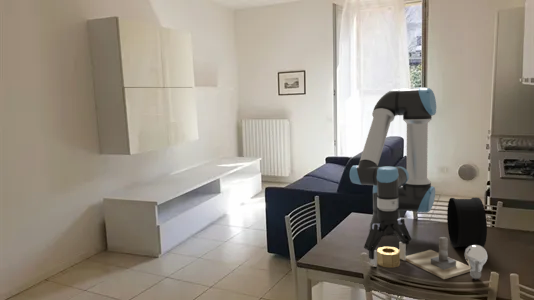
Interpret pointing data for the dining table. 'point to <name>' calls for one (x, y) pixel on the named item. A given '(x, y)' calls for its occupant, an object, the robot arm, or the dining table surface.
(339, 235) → the dining table surface
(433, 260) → the shaft stand
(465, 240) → the car wheel rim
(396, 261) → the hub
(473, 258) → the light bulb
